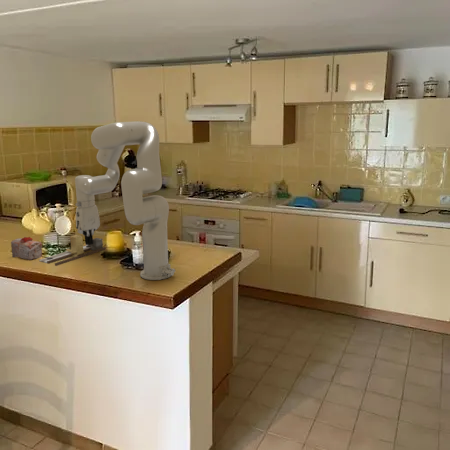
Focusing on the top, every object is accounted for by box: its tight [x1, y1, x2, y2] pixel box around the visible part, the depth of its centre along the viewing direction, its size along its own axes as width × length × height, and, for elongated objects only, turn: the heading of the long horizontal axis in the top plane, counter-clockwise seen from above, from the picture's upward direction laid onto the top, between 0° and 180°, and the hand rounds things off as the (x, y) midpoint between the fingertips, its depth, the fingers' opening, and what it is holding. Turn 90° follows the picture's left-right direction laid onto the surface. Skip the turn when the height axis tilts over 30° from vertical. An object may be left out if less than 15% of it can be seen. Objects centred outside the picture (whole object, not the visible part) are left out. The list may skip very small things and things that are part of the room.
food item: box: [10, 236, 43, 261], centre depth 201 cm, size 14×8×10 cm, turn 63°
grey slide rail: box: [39, 237, 107, 267], centre depth 203 cm, size 12×30×6 cm, turn 147°
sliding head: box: [65, 234, 85, 258], centre depth 202 cm, size 9×4×9 cm, turn 57°
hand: (89, 243), depth 206 cm, fingers closed
